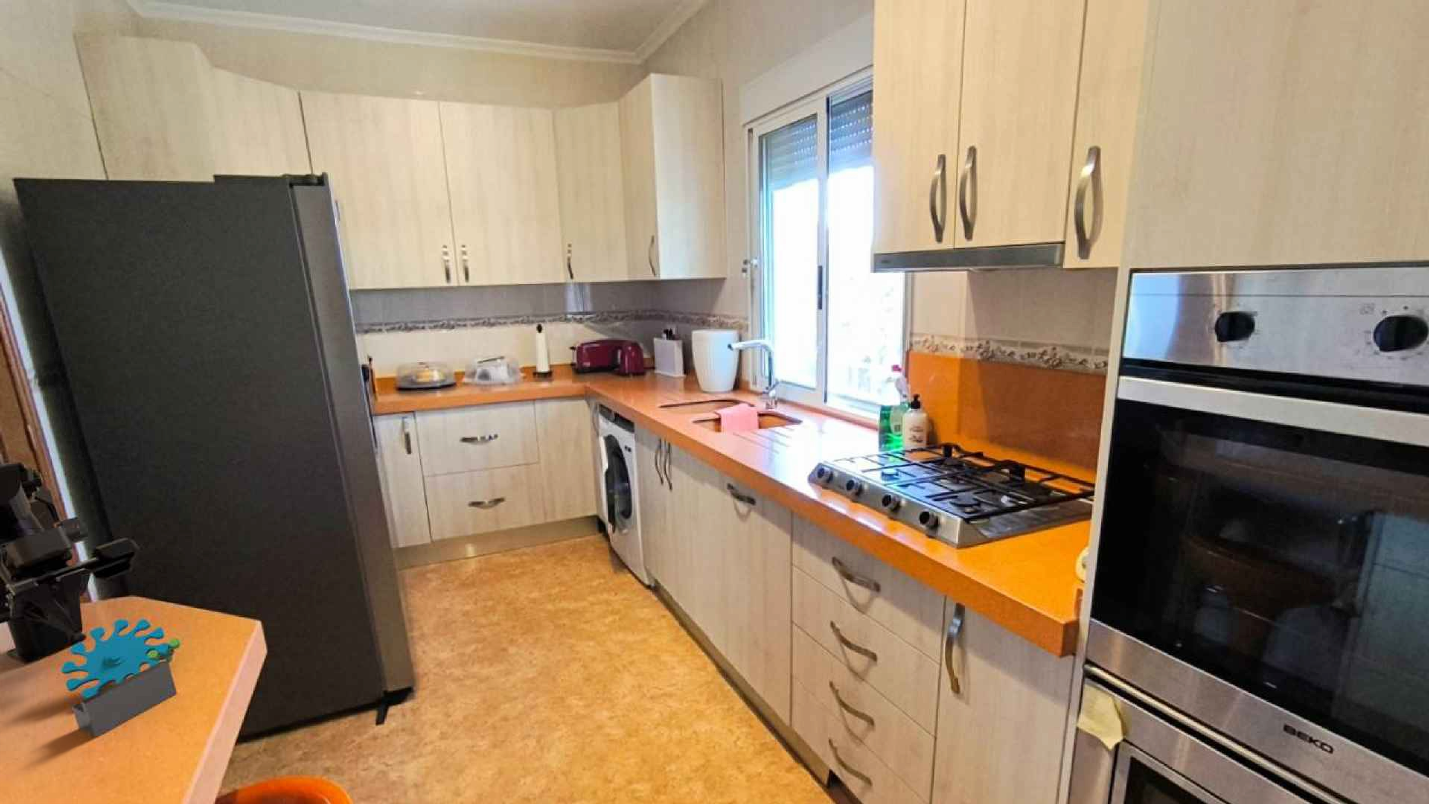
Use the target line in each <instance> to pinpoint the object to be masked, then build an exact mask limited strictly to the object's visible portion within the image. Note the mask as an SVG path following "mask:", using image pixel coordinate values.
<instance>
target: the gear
mask: <svg viewBox="0 0 1429 804" xmlns="http://www.w3.org/2000/svg"><path fill="white" fill-rule="evenodd" d="M129 625H130V622H129V620H128V619H116V620H115V622H114V623H113V627H114V629H113V632H112V634H111V635H110V637H109V638H107V639H106V640H102V638H103V637H104V636H105V634H106V630H105V629H104V627H102V626H100V627H97V628H94V629H92V630H90V631H89V636H90V637H91V638H92V639H93V640H94V642H95V644H94V648H93V649H92V650H91V651H86V650H87V647H86V644H84V642H82V641H79V642H77V643H75V644H73V646H71V647H70V648H69V651H70V653H71V654H72V655H74V656H82V657H83V658H85V659H86V662H85V663H84V664H82V665H77V664H76V663H75V662H74V661H72V660H68V661H65V662H64V663H63V665H62V667H61V670H60V672H61V673H62V674H64V675H69V674H72V673H77V672H84V673H88V674H87V675H86V677H84V678H76V677H72V678H68V679H67V680H66V681H65V686H66V688H67V690H68V691H69V692H74V691H75V690H77V689H79V688H80V687H83V685H84V684H88V683H91V682H95V681H98V683H97V685H94V686H92V687H87V688H84V689H83V690H82V691H81V693H80V694H81V696H82V697H84V699H87V698H89V697H91V696H93V695H95V694H97V693H99V692H101V691H102V690H101V689H102V688H104V687H105V686H107V685H108V684H111V683H112V682H116V683H115V684H117V683H119V682H121V681H123V680H125V679H127V678H129V677H131V676H133V675H135V674H137V673H139V672H141V667H143V666H144V665H146V664H147V665H149V666H148V668H150V667H152V666H154V665H156V664H158V663H160V662H161V661H166V662H171V661H173V659H174V657H173V656H174V654H175V650H177V649H179V648H180V647H181V645H182V643H181V641H180V639H179V638H177V637H176V638H175V637H174V638H172V639H170V640H169V643H168V642H163V643H159V644H155V645H153V644H147V643H146V642H147V641H148V640H151V639H155V640H162V639H164V638H165V632H164V629H163V628H162V627H157V628H155V629H154V630H152V631H151V632H149V633H147V634H143V635H139V636H136V634H137V633H138V632H142V631H147V630H148V629H149V628H151V627H152V626H151V625H152V624H151V623H150V621H148V620H146V619H145V618H142V619H140V620H138V622H137V623H136V625H135V626H134V627H133V628H132V629H131V630H129V631H128V632H126V633H124V634H120V633H121V632H122V631H124V630H125V629H127V628H128V627H129Z"/></svg>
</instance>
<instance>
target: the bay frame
mask: <svg viewBox="0 0 1429 804" xmlns="http://www.w3.org/2000/svg"><path fill="white" fill-rule="evenodd" d="M169 664H170V663H169V661H166V660H161V661H160V663H158V664H156V665H154V666H152V667H150V668H149V667H148V668H146V669H144V670H140V672H139V673H137V674H135V675H130V676H128V677H127V678H126V679H125V680H123V681H121V682H119V683H117V684H116V683H115V684H114V685H112V686H111V685H110V686H109V687H107V688H105V689H103V690H100V691H99V692H98V693H97V694H95V695H93V696H91V697H89V698H87V699H86V698H84V699H83V700H81V701H80V703H79V702H78V703H76V704H73V705H72V706H71V708H72V711H73V713H74V718H75V721H76V724H77V727H78V729H79V730H81V731H82V732H85V733H86V734H88V735H90V736H92V737H93V738H98V737H100V736H102V735H105V733H107V732H109V731H111V730H113V729H114V728H117V727H119V726H120V725H121V724H124V723H125V722H128V721H129V720H132V719H134V717H137V716H139V715H140V714H143V713H145V712H146V711H148V710H149V709H152V708H154V707H156V706H157V705H159V704H161V703H163V702H164V701H166V700H168V699H170V698H172V697H173V696H176V695H178V692H177V689H176V685H175V682H174V679H173V674H172V671H171V667H170V665H169Z"/></svg>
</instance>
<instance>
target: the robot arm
mask: <svg viewBox="0 0 1429 804" xmlns="http://www.w3.org/2000/svg"><path fill="white" fill-rule="evenodd" d="M88 537H89V531H88V529H87V528H86V525H85V523H84V522H83V521H82V520H81V519H80V517H79V516H74V517H71V518H67V519H65V520H64V519H63V520H61V517H60V513H59V511H58V506H57V504H56V501H55V498H54V495H53V492H52V491H51V490H50V489H48V488H47V487H45V486H44V479H43V475H42V473H40V472H39V471H37V469H34V467H33V466H29V467H27V465H26V464H25V462H24V461H21V460H19V461H13V462H9V463H8V462H7V463H2V464H0V625H1V624H5V623H6V624H7V627H8V630H9V632H10V636H11V638H12V641H13V645H14V648H11V649H9V650H7V651H6V652H5V653H6V655H7V657H10V658H12V659H14V660H17V661H19V662H20V663H22V664H29V663H32V662H35V661H37V660H39V659H42V658H44V657H46V656H48V655H51V654H53V653H56V652H58V651H60V650H63V649H65V648H67V647H70V646H72V645H75V644H77V643H79V642H82V641H83V640H85V639H87V635H86V634H85V633H82V632H83V628H84V627H83V620H82V618H83V617H82V609H81V600H80V599H81V598H80V597H82V596H84V593H86V592H87V589H88V586H89V582H90V579H91V574H92V575H94V577H95V578H96V579H98V580H99V579H100V580H105V581H106V580H110V579H112V578H115V577H117V576H120V575H124V574H126V573H130V571H132V570H133V569H134V568H135V567H136V564H137V561H138V557H139V554H140V551H141V548H140V546H139V545H138V543H137V542H136V541H135V540H133V539H130V538H128V537H123V538H119V539H116V540H113V541H111V542H107V543H104V544H102V545H99V546H95V547H93V552H92V556H91V558H89V559H86V560H83V561H80V562H78V563H74V564H71V565H70V564H69V563H68V562H69V561H71V560H72V559H73V553H72V552H71V550H72V549H75V547H76V546H75V545H74V544H77V543H80V542H83V541H85V540H86V539H87V538H88Z"/></svg>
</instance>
